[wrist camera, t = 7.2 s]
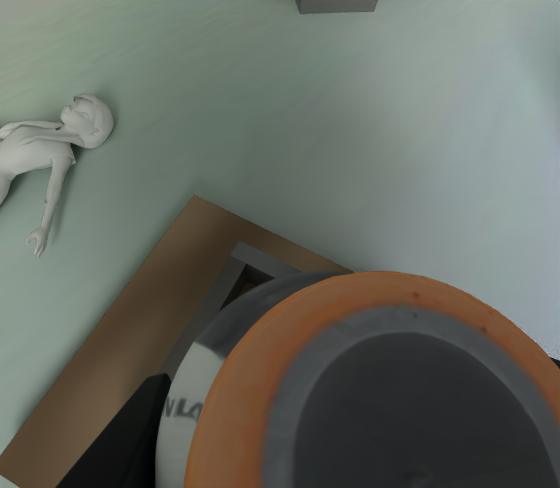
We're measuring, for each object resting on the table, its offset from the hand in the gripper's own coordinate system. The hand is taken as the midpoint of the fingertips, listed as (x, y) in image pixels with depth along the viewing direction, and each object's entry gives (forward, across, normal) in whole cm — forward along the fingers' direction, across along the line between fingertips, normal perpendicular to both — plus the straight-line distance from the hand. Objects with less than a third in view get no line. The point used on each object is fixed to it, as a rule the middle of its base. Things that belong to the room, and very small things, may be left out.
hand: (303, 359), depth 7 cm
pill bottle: (+4, 0, +6) cm, 7 cm away
